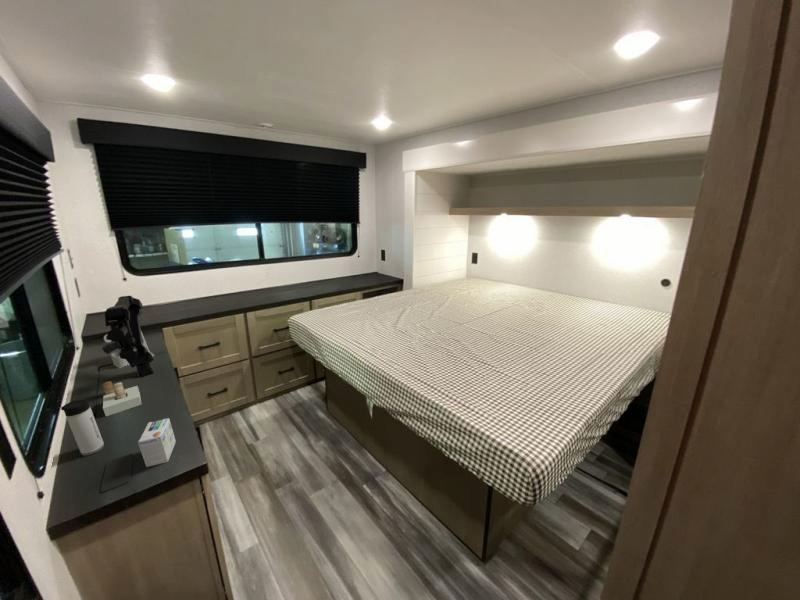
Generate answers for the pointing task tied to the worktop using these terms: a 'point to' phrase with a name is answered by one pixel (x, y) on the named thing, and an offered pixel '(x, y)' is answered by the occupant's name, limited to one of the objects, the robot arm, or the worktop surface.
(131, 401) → the hole block
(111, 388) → the short dowel
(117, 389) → the long dowel
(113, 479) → the phone
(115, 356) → the phone holder
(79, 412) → the travel mug
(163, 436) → the light bulb box
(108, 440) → the worktop surface
